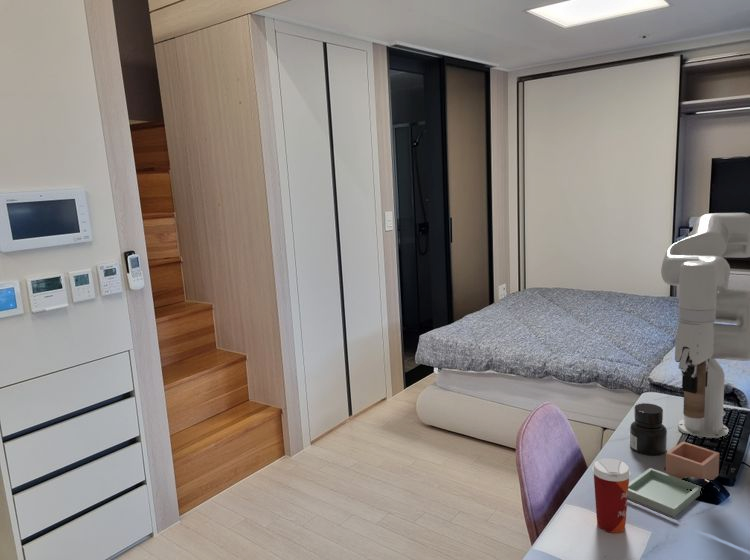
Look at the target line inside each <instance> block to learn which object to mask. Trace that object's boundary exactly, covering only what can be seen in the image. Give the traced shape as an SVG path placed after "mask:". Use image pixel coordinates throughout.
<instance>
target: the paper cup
mask: <svg viewBox="0 0 750 560" xmlns="http://www.w3.org/2000/svg"><path fill="white" fill-rule="evenodd" d="M591 472H592V473H593V483H594V485H593V486H594V498H595V499H594V500H595V510H596V511H595V512H596V523H597V526H598V528H599V529H600V530H601V531H603V532H606V533H608V534H621V533H623V532H624V531H625V530H626V523H627V512H628V511H627V510H628V499H629V498H628V486H629V482H630V478H631V475H632V473H631V470H630V468H629V466H628V464H626V463H625V462H624V461H621V460H619V459H615V458H614V459H613V458H601V459H598V460H596V461H595V462H594V463H593V466H592V468H591Z"/></svg>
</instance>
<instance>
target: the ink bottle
mask: <svg viewBox="0 0 750 560" xmlns="http://www.w3.org/2000/svg"><path fill="white" fill-rule="evenodd" d="M663 420H664V410H663V408H662V407H661V406H659V405H657V404H654V403H644V402H643V403H638V404H635V406H634V421H633V422H632V423H631V424H630V427H629V428H630V429H629V432H630V434H629V447H630V449H631V450H632V451H633V452H634V453H637V454H641V455H643V456H648V457H657V456H658V457H659V456H662V455H664V454H666V453H667V442H668V441H667V440H668V439H667V437H668V435H667V434H668V433H667V430H668V429H667V428H666V426H665V425H664V424H663Z"/></svg>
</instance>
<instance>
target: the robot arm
mask: <svg viewBox="0 0 750 560" xmlns="http://www.w3.org/2000/svg"><path fill="white" fill-rule="evenodd" d="M692 227H693V228H692V231H690V232H689V233H688V234H687V236H686V237H685V238H683V239H681V240H678V241H676V242H674V243H672V244H671V245H670V246H669V247H668V248H667V250H666V252H665V254H664V257H663V259H662V263H661V269H660V273H661V278H662V280H663V282H664V283H665V284H667V285H670V286H677V287H678V318H677V319H678V325H677V330H676V337H675V339H676V340H675V346H674V347H675V349H674V360H675V362H676V363H678V369H679V370H680V371H681V376H682V377H681V378H682V379H681V380H682V381H681V382H682V383H681V390H682V391H683V392H684V391H686V392H690V393H694V394H696V393H697V384H698V377H696V372H697V365H698V364H700V363H702V362H705V363H706V386H705V414H704V417H703V418H699V419H695V418H690V417H687V416H685V415H684V414H683V416H684V417H683V418H682V419H681V420H679V421H678V422H677V429H678V430H679V432H681V433H682V434H684V433H687V434H690V435H693V436H697V437H706V438H719V437H722V436H725V435H727V434H728V432H729V433H730V429H729V428H728V427H727V426H726V425H725V424H724V423H723V420H724V416H725V415H726V411H725V410H724V397H725V379H726V378H725V376H726V375H725V372H724V369H723V367H722V366H721V365H720V363H719V362H718V360H727V361H729V360H730V361H737V362H738V361H739V362H749V361H750V290H748V289H735V288H734V289H731V288H729V280H730V276H731V275H730V274H731V266H730V264H729V262H728V261H727V259H726V258H734V259H735V258H737V259H738V258H740V259H741V258H742V259H743V258H746V259H747V258H750V213H746V212H714V213H712V212H711V213H706V214H703V215H701V216H700V217H698V218H697V219H695V221H694V224H693V226H692ZM716 359H717V360H716ZM688 361H692V363H689V362H688ZM687 365H688V366H693V367H692V370H691V368H688V366H687ZM728 435H729V434H728Z"/></svg>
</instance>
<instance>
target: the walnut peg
mask: <svg viewBox="0 0 750 560" xmlns="http://www.w3.org/2000/svg"><path fill="white" fill-rule="evenodd" d="M688 362H689V363H692V361H688ZM687 366H688V365H687ZM692 367H693V366H688V368H691V370H692ZM696 377H698V384H697V393H696V394H694V393H690V392H686V391H683V410H682V411H683V413H682V414H683V416H684V415H685V416H687V417H690V418H695V419H699V418H703V417H704V414H705V386H706V363H705V362H702V363H700V364H698V365H697V372H696Z"/></svg>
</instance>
